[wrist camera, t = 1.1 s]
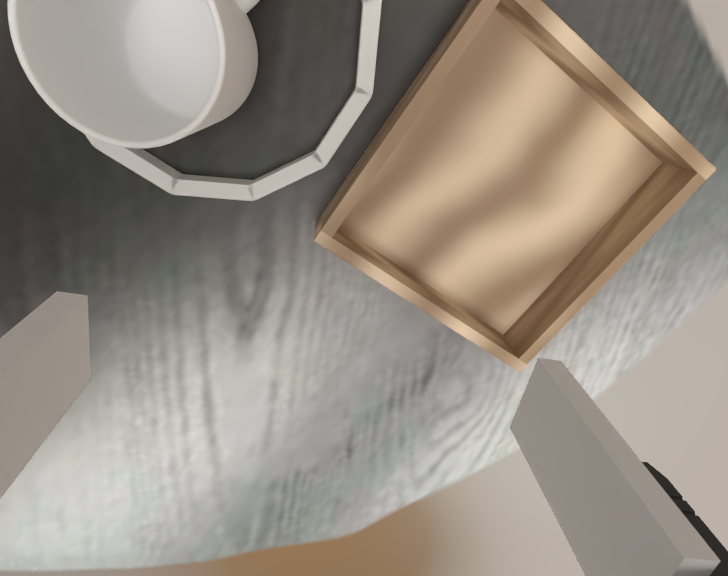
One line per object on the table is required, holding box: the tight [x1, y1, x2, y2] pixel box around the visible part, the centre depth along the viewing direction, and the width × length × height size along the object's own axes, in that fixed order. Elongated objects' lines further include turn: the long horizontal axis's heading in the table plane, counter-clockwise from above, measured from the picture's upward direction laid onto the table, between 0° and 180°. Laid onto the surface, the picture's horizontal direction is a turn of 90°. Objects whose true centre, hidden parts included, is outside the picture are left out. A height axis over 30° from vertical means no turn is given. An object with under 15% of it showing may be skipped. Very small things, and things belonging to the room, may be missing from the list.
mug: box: [7, 0, 260, 149], centre depth 23 cm, size 12×8×10 cm
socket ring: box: [84, 0, 382, 201], centre depth 27 cm, size 19×19×2 cm
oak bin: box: [314, 0, 716, 372], centre depth 31 cm, size 18×18×4 cm
